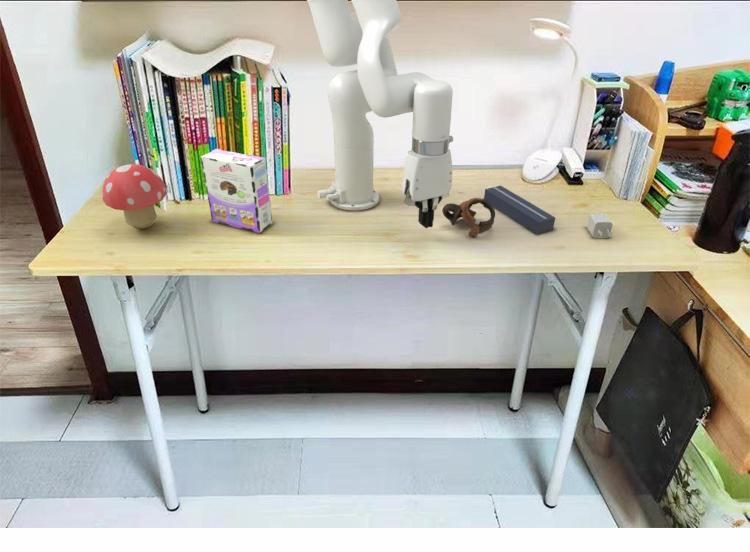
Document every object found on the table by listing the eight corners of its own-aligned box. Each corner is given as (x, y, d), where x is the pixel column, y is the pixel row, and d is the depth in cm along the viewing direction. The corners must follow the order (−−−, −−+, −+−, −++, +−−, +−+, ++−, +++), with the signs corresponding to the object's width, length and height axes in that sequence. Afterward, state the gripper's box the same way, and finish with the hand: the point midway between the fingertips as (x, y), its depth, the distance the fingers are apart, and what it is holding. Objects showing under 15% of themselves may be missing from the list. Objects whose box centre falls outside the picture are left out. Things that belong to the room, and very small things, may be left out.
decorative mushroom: (119, 216, 134) (103, 156, 125) (177, 212, 135) (165, 153, 127) (106, 244, 123) (87, 180, 114) (169, 239, 124) (155, 177, 116)
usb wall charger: (603, 228, 131) (607, 213, 129) (613, 243, 125) (617, 227, 123) (586, 228, 131) (589, 213, 129) (595, 243, 125) (599, 227, 123)
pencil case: (536, 234, 128) (539, 221, 126) (483, 200, 143) (485, 188, 141) (553, 229, 130) (555, 217, 128) (499, 196, 145) (500, 184, 143)
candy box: (273, 223, 131) (267, 157, 122) (259, 234, 127) (251, 166, 118) (226, 211, 136) (216, 146, 127) (210, 221, 132) (199, 155, 123)
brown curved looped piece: (483, 218, 136) (498, 198, 129) (483, 250, 131) (499, 231, 124) (437, 206, 134) (449, 186, 127) (435, 239, 129) (448, 219, 122)
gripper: (450, 134, 119) (444, 211, 129) (389, 145, 113) (388, 225, 123) (471, 144, 114) (463, 224, 124) (408, 157, 108) (405, 240, 118)
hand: (425, 224), depth 124 cm, fingers closed
